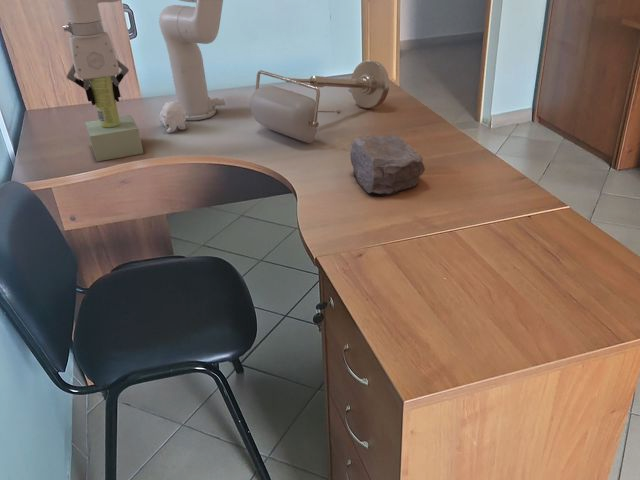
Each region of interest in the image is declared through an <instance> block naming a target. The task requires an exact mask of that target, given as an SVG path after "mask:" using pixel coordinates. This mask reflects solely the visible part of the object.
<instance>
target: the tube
mask: <svg viewBox="0 0 640 480" xmlns="http://www.w3.org/2000/svg"><path fill="white" fill-rule="evenodd" d="M89 86H90V88H91V90H92V94H93V97H94V101H95V105H94V106H95V111H96V113H97V117H98V120H99V121H100V125H101V126H102V127H106V128H109V127H115V126H118V125H119V124H120V120H119V117H120V116H119V111H118V105H117V101H116V100H115V95H114V90H113V84H112V80H111V76H108V77H100V78H92V79H89Z"/></svg>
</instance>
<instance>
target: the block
mask: <svg viewBox="0 0 640 480" xmlns="http://www.w3.org/2000/svg"><path fill="white" fill-rule="evenodd" d="M119 120H120V124H119V125H118V126H115V127H109V128H106V127H102V126H101V125H100V121H99V119H97V120H90V121H85V127H86V129H87V133H88V137H89V140H90V144H91V148H92V150H93V151H92V152H93V154H94V158H95V161H96V162H97V163H98V162H104V161H108V160H114V159H119V158H125V157H131V156H136V155H142V154H145V153H144V149H143V148H144V147H143V144H142V139H141V135H140V131H139V128H138V125H137V124H136V122H135V120H134V118H133V116H132V115H131V114H129V115H121V116H119Z"/></svg>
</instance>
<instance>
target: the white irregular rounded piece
mask: <svg viewBox="0 0 640 480" xmlns="http://www.w3.org/2000/svg"><path fill="white" fill-rule="evenodd" d="M159 119H160V120H159V122H160V123H161V124H162V125H163V126H164V128H166V131H165V133H167V134H170V133H173V132H175V131H176V129H177V128H178V129H179V130H181V131H184V130H185V129H187V126H186V124H185V122H187V120H186V112H185V111H184V110H183V108H182V106H181V105H180V104H178V102H177V101H173V100H172V101H166V102H165V103H164V104H163V106H162V108H161V111H160V112H159ZM167 127H168V128H167Z"/></svg>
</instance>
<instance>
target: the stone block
mask: <svg viewBox="0 0 640 480" xmlns="http://www.w3.org/2000/svg"><path fill="white" fill-rule="evenodd" d="M349 155H350V163H351V166H352V168H353V170H352V174H353V177H354V178H355V181H356V182H357V184H358V185H359V186H360V187H361V188H362V190H363V191H364V192H365V193H366V194H367V195H368V196H369V197H371V196H372V197H383V196H391V195H393V194H397V193H398V192H401V191H404V190H408V189H413V188H415V187H416V186H417V183H418V182H419V180H420V179H421V175H423V174H424V172H425V170H426V168H425V167H426V166H425V165H424V162H423V157H422V155H421V154H420V153H418V152H417V151H416V150H415V149H414V148H413V147H412V146H411V145H409V143H408V142H406V141H405V140H404V139H403V138H401V137H400V136H399V135H394V134H393V135H377V136H376V135H368V136H358V137H357V138H355V139H353V140H352V142H351V146H350V154H349Z"/></svg>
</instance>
